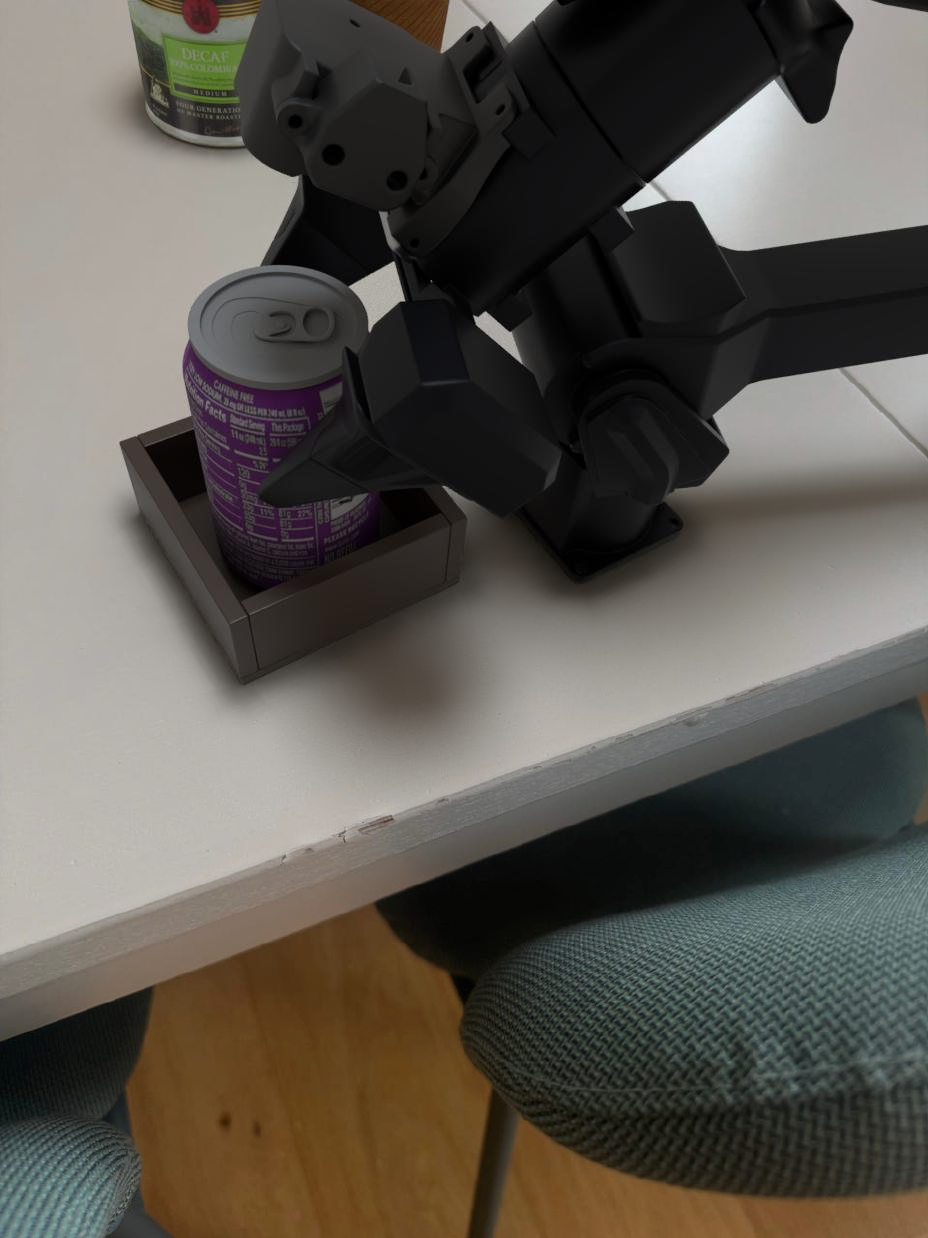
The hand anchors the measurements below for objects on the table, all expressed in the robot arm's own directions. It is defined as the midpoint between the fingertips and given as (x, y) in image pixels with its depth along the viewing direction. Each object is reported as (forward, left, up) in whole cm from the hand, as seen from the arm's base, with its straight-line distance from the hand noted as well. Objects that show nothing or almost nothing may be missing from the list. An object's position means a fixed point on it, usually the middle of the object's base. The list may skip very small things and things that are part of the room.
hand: (254, 407), depth 36 cm
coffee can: (+14, +35, -9) cm, 38 cm away
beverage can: (+1, 0, -8) cm, 8 cm away
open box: (+1, 0, -9) cm, 9 cm away
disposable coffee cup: (+26, +34, -9) cm, 43 cm away
